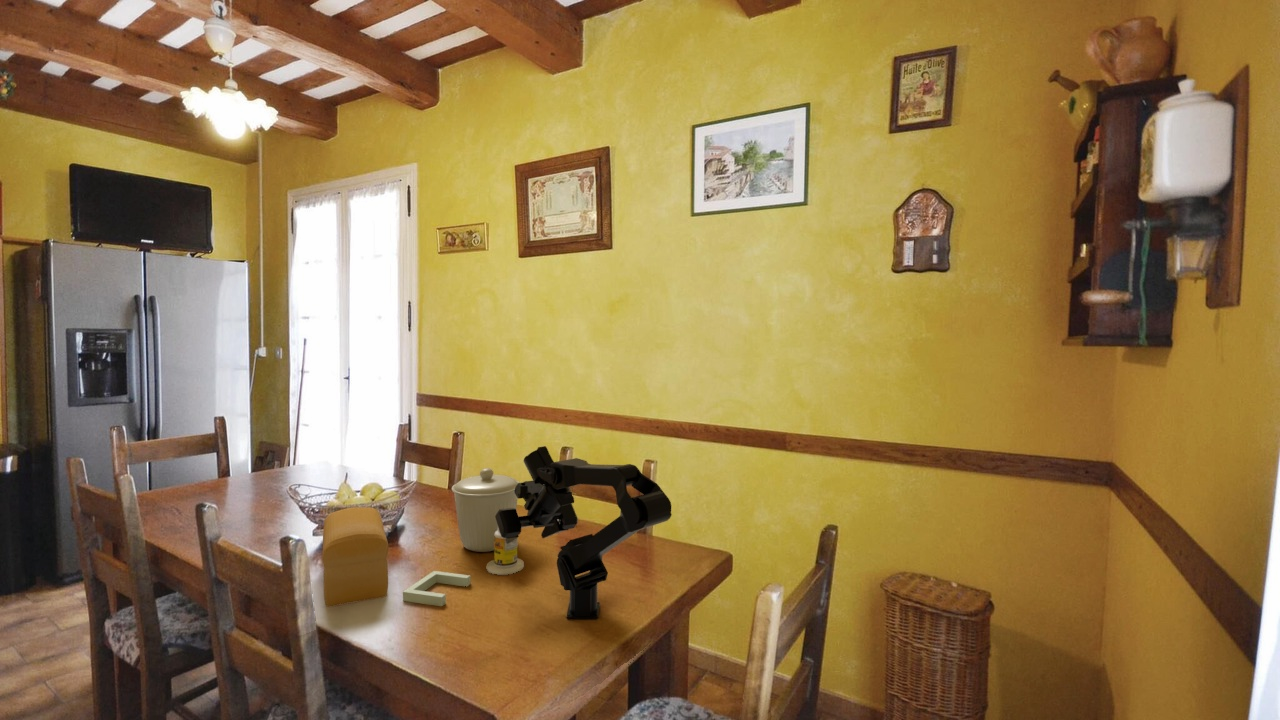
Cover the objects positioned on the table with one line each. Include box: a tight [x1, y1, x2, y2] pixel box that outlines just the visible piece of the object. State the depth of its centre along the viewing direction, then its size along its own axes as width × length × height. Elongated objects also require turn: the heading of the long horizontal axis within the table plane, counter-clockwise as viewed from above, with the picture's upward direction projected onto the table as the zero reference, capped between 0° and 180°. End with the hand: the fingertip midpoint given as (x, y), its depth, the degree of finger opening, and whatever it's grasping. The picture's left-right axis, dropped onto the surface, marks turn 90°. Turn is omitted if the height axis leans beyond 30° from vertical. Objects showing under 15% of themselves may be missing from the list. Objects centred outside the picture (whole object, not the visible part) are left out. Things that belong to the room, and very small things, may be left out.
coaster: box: [486, 557, 525, 576], centre depth 148 cm, size 9×9×1 cm
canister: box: [451, 467, 521, 553], centre depth 162 cm, size 18×18×21 cm
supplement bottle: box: [493, 528, 518, 568], centre depth 147 cm, size 6×6×10 cm
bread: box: [321, 506, 389, 608], centre depth 139 cm, size 24×13×15 cm, turn 27°
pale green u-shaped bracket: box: [402, 570, 472, 607], centre depth 134 cm, size 10×12×2 cm
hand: (525, 539), depth 141 cm, fingers open, 9 cm apart
